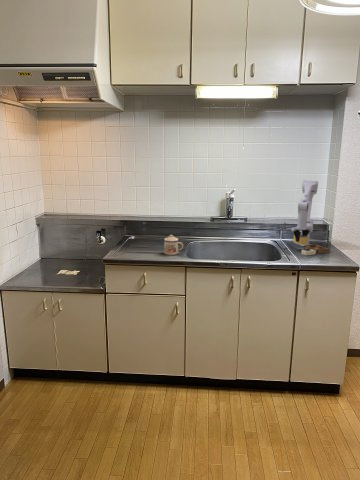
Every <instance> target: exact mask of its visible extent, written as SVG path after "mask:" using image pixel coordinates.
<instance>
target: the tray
mask: <svg viewBox="0 0 360 480" xmlns="http://www.w3.org/2000/svg"><path fill="white" fill-rule="evenodd" d="M303 248H304V249H303V250H306V251H310V249H313V250H316V254H324V253H325V254H326V253H329V251H330V249H329V248H327V247H324V246H323V245H322V246H321V245H318V244H317V243H316V244H315V243H314V244H311V245H305V246H303Z"/></svg>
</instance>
